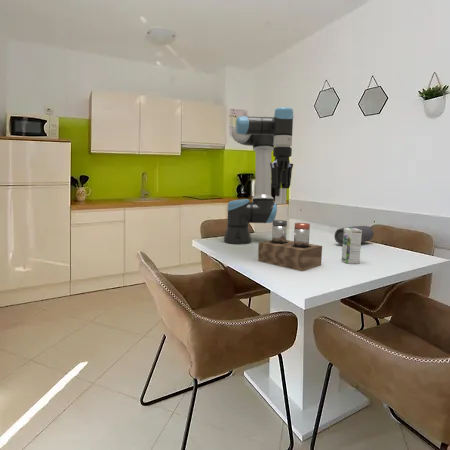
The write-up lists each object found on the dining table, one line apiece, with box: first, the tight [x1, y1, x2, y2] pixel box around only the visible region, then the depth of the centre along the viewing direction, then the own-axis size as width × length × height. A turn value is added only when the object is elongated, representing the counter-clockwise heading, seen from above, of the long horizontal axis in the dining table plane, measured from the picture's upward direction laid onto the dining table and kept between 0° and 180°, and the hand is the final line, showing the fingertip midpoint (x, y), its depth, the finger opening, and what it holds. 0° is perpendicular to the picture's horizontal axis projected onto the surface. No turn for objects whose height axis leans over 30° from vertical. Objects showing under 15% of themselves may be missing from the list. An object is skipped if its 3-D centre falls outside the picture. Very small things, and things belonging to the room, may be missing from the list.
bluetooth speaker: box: [333, 225, 374, 245], centre depth 188 cm, size 23×9×10 cm, turn 123°
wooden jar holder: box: [257, 239, 323, 272], centre depth 144 cm, size 22×14×8 cm, turn 45°
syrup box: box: [341, 227, 362, 265], centre depth 147 cm, size 6×6×14 cm
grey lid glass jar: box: [271, 219, 288, 244], centre depth 147 cm, size 6×6×10 cm
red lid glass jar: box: [293, 222, 311, 248], centre depth 139 cm, size 6×6×10 cm
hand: (280, 203), depth 145 cm, fingers open, 3 cm apart
